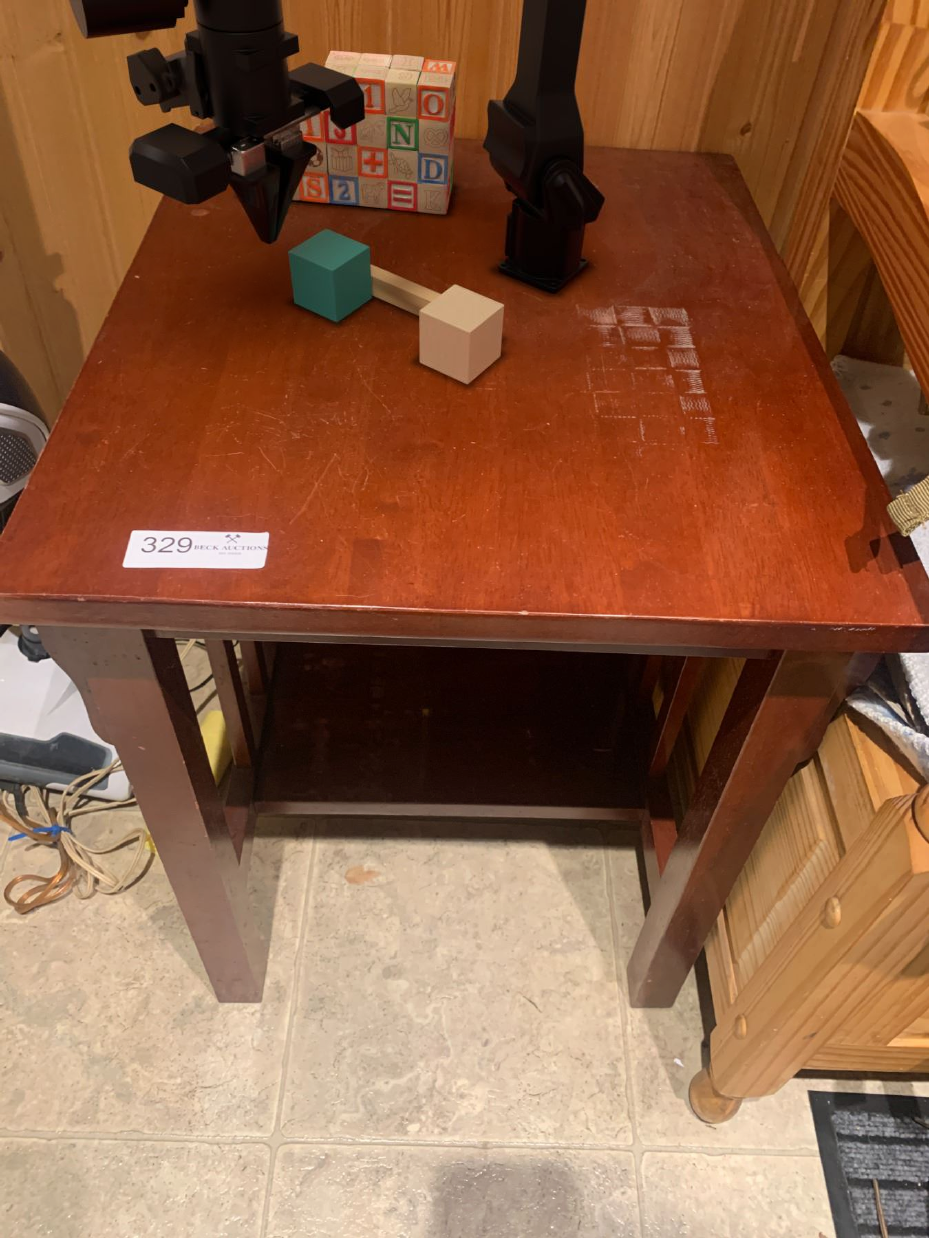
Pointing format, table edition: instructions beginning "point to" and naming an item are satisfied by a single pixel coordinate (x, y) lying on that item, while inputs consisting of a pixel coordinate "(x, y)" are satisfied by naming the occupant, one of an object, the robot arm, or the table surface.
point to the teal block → (331, 274)
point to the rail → (400, 291)
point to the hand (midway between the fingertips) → (268, 241)
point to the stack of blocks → (387, 137)
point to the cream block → (460, 333)
